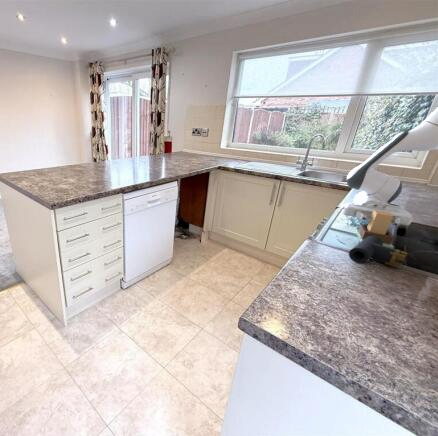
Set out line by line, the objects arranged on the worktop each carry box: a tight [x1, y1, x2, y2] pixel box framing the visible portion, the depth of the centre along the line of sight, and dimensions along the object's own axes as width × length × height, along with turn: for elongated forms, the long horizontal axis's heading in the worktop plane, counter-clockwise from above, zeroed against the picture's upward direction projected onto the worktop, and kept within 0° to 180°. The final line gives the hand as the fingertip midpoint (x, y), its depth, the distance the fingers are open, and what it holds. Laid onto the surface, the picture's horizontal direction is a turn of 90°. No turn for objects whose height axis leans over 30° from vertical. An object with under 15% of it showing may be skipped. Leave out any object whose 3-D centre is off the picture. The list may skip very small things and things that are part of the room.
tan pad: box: [366, 210, 393, 235], centre depth 91 cm, size 4×4×10 cm
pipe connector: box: [348, 236, 408, 269], centre depth 79 cm, size 12×5×15 cm
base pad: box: [354, 223, 395, 249], centre depth 92 cm, size 12×9×4 cm
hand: (380, 220), depth 90 cm, fingers open, 8 cm apart
